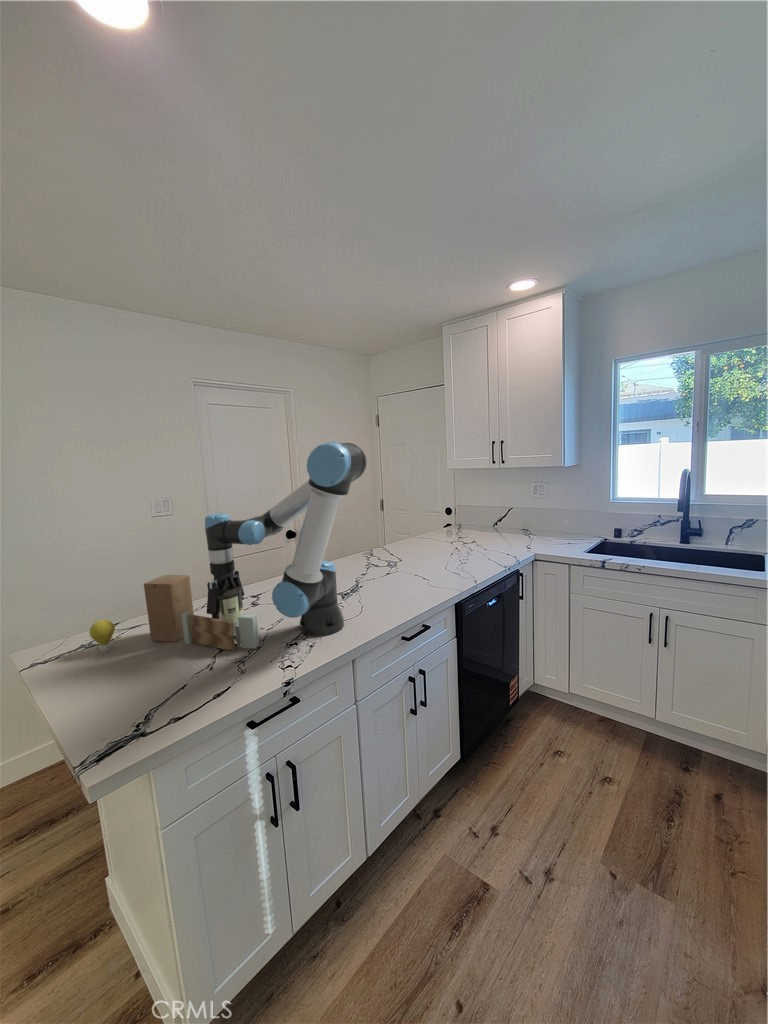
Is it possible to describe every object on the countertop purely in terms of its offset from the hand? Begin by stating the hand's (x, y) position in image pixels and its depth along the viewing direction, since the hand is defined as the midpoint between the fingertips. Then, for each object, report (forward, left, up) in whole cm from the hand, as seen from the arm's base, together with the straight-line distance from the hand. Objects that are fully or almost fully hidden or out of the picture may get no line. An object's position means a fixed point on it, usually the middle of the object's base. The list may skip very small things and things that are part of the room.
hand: (229, 624), depth 141 cm
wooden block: (+20, +3, -4) cm, 20 cm away
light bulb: (+35, +16, -4) cm, 38 cm away
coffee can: (0, 0, -3) cm, 3 cm away
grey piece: (-1, +7, -4) cm, 8 cm away
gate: (+1, +8, -3) cm, 9 cm away
